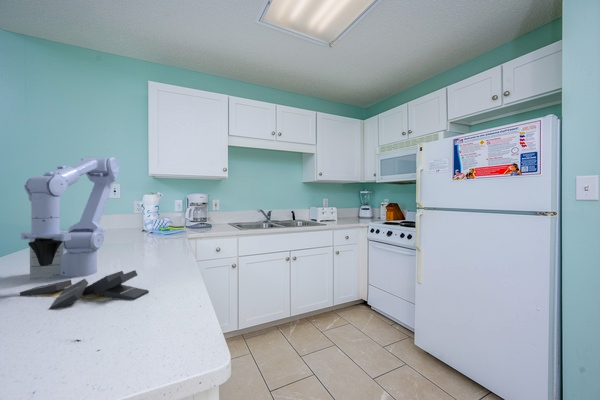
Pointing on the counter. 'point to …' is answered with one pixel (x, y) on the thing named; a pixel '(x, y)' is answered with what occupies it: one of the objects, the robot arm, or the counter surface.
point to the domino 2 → (70, 294)
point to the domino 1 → (46, 288)
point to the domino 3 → (101, 282)
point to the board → (89, 296)
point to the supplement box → (48, 270)
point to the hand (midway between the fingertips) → (46, 265)
